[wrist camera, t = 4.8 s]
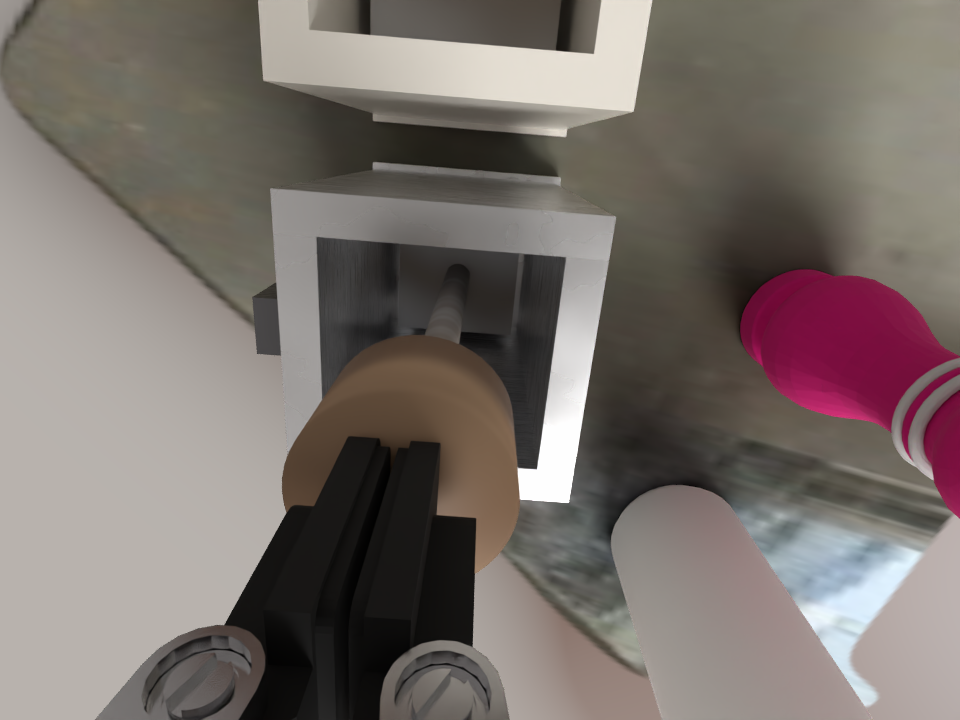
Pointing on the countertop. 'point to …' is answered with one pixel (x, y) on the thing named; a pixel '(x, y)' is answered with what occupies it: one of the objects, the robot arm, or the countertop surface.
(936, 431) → the pepper mill
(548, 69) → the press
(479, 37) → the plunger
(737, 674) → the alcohol
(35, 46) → the countertop surface
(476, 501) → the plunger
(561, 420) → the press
